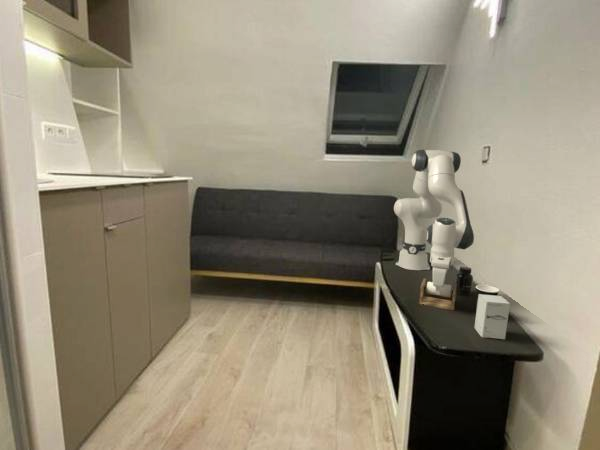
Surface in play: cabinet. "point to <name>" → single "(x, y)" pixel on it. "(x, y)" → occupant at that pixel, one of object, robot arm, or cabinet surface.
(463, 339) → the cabinet surface
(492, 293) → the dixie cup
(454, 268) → the cabinet surface
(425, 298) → the holder
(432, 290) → the paper roll
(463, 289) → the supplement bottle
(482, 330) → the supplement box
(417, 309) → the cabinet surface
